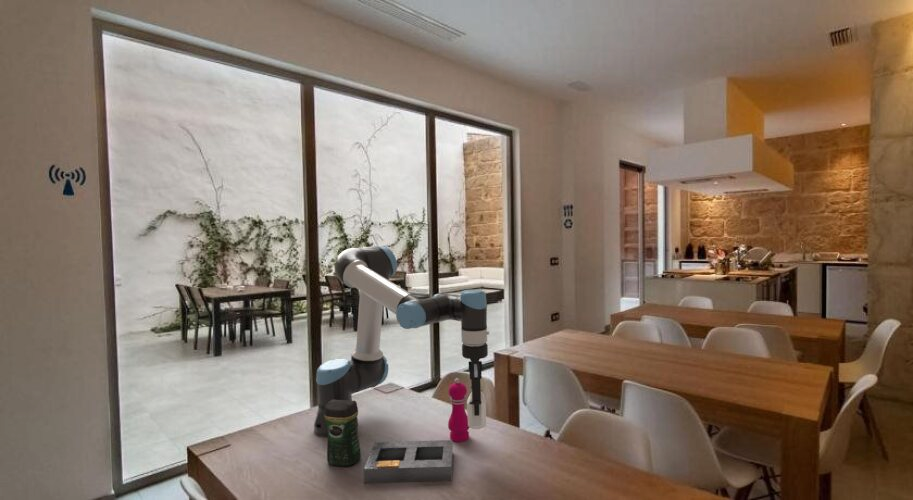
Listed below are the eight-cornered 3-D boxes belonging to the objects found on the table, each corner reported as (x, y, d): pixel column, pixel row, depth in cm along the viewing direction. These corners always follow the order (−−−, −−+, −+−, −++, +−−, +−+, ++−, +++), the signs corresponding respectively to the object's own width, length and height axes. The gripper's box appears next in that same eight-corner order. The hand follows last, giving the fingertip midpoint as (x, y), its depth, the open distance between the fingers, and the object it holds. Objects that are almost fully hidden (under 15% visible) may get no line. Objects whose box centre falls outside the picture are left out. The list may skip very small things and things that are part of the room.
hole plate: (375, 455, 144) (374, 441, 144) (452, 452, 144) (452, 438, 144) (364, 483, 128) (363, 467, 128) (451, 480, 128) (450, 465, 128)
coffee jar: (364, 456, 144) (361, 397, 143) (351, 469, 136) (348, 407, 135) (337, 453, 147) (334, 395, 146) (322, 465, 139) (319, 404, 138)
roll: (479, 389, 133) (462, 386, 136) (480, 430, 133) (463, 426, 136) (488, 383, 138) (472, 380, 141) (489, 422, 139) (473, 419, 141)
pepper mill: (468, 443, 150) (465, 382, 149) (446, 442, 151) (443, 381, 150) (472, 433, 157) (469, 375, 156) (451, 432, 158) (448, 374, 157)
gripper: (489, 351, 127) (491, 434, 128) (485, 335, 145) (487, 407, 147) (461, 352, 127) (463, 435, 128) (462, 335, 145) (464, 408, 147)
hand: (476, 420), depth 137 cm, fingers closed on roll, 6 cm apart
